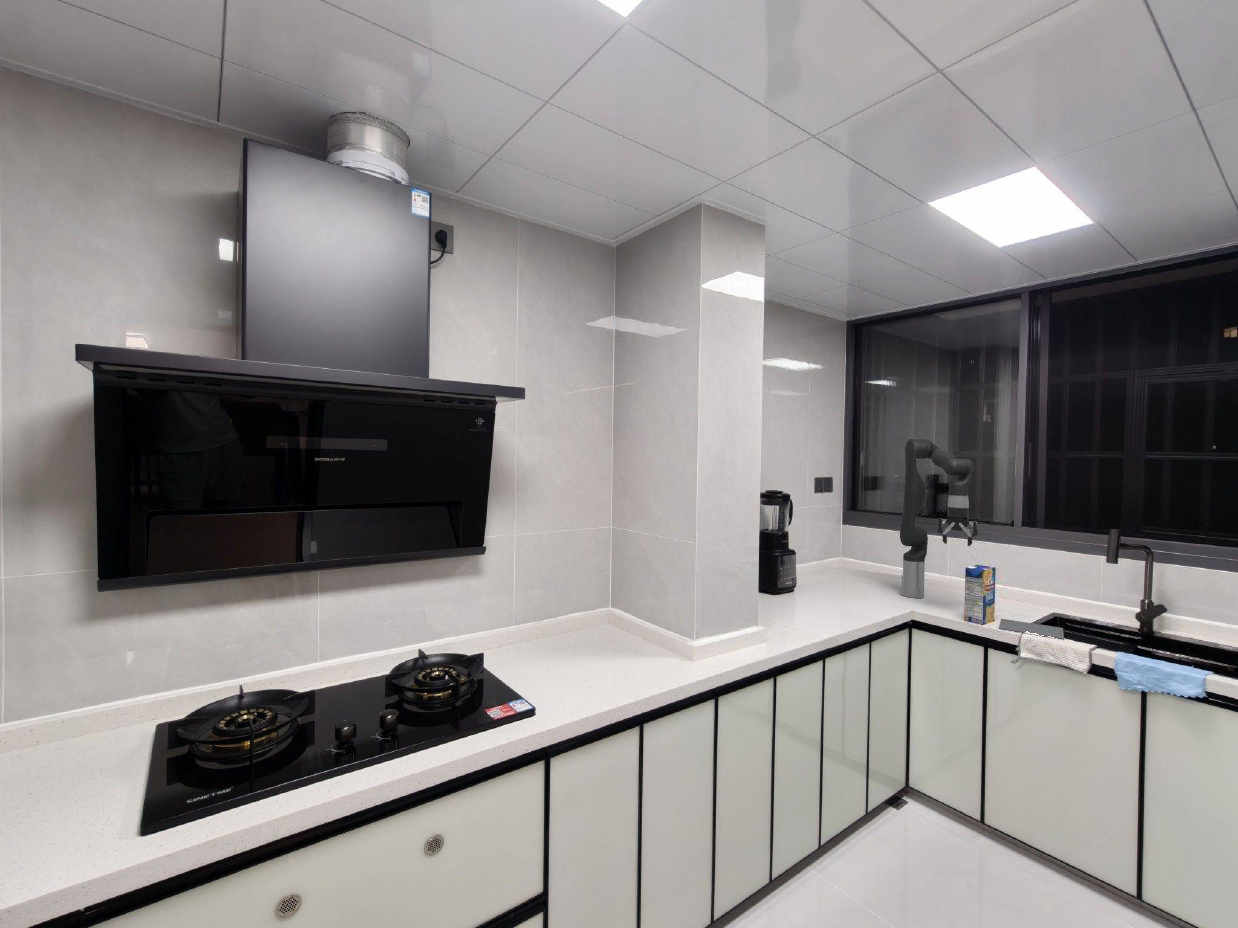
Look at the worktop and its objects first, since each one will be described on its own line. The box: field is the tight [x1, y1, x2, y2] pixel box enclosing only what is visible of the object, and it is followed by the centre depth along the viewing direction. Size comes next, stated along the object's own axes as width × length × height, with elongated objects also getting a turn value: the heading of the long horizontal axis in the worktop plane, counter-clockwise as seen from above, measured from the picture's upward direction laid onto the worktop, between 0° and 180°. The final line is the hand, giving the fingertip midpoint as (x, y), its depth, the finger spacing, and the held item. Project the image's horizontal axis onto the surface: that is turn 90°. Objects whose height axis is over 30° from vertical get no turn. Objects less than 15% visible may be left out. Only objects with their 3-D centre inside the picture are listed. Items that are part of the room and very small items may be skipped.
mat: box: [998, 618, 1065, 641], centre depth 219 cm, size 20×16×1 cm
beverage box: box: [963, 564, 997, 626], centre depth 229 cm, size 7×11×22 cm, turn 125°
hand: (957, 544), depth 236 cm, fingers open, 8 cm apart
